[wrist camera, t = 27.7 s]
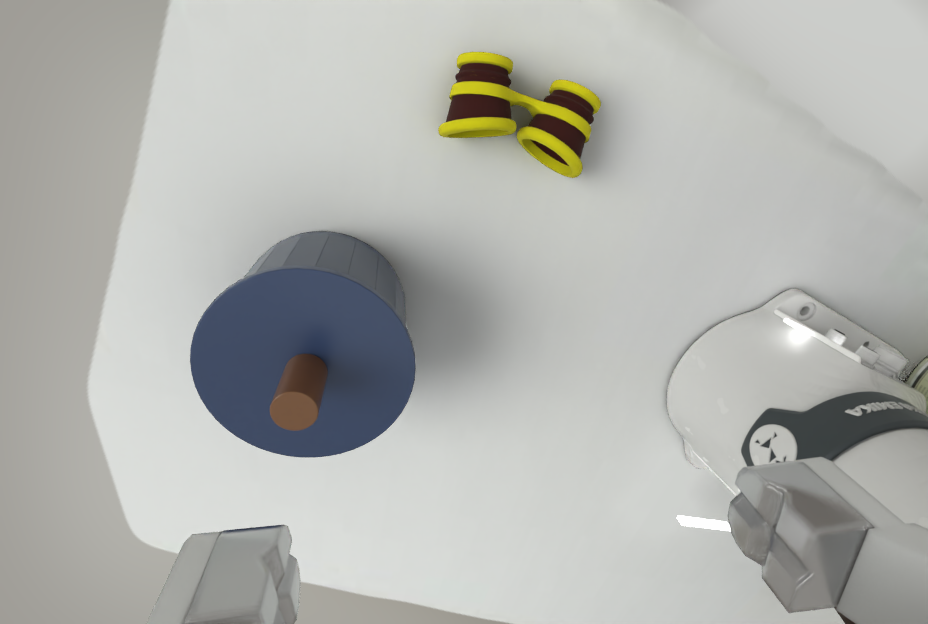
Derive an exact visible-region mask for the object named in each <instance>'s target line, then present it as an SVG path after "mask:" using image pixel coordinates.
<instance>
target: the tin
mask: <svg viewBox="0 0 928 624" xmlns="http://www.w3.org/2000/svg"><path fill="white" fill-rule="evenodd" d="M297 265H301V266H315V267H321V268H326V269H331V270H334V271H337V272H341V273H344V274H346V275H349V276H351V277H353V278H355V279H358V280H360V281H361V282H363V283H365V284H366V285H368V286H370V287H371V288H373V289H374V290H375V291H376V292H378V293H379V294H380V295H382V296H383V297H384V298H385V299H386V300H387V301H388V302H389V303H390V304H391V305H392V306H393V307H394V309H395V310H396V311H397V313H398V314H399V315H400V317H401V318H402V320H403V322H404V324H405V326H406V318H405V299H404V292H403V289H402V286H401V283H400V281H399V278H398V276H397V274H396V273H395V271H394V269H393V268H392V266H391V265H390V264H389V262H388V261H387V260H386V259H385V258H384V257H383V256H382V255H381V254H380V253H379V252H377V251H376V250H375V249H374V248H372V247H371V246H369V245H368V244H366V243H365V242H363V241H360V240H358V239H356V238H354V237H351V236H348V235H345V234H340V233H336V232H326V231H316V232H307V233H301V234H298V235H295V236H291V237H289V238H287V239H285V240H283V241H281V242H279V243H277V244H276V245H274V246H273V247H272V248H270V249H269V250H268V251H267V252H266V253H265V254H264V255H262V256H261V257H260V258H259V259H258V260H257V262H256V263H255V264H254V265H253V267H252V268H251V269H250V270H249V272H248V273H247V274H246V275H245V277H247V276H249V275H251V274H254V273H257V272H260V271H263V270H266V269H271V268H276V267H282V266H297ZM245 277H244V278H245Z"/></svg>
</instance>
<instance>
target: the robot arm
mask: <svg viewBox="0 0 928 624" xmlns="http://www.w3.org/2000/svg"><path fill="white" fill-rule="evenodd" d="M802 308H803V309H802ZM801 309H802V310H801ZM908 361H909V360H907V359H905V358H903V355H902V353H900V352H899V351H898V350H896V349H895V348H893V347H892V346H890V345H889V344H887V343H885V342H884V341H882V340H881V339H879V338H877V337H876V336H874V335H872V334H871V333H869V332H868V331H866V330H864V329H863V328H861V327H859V326H858V325H856V324H855V323H853V322H851V321H850V320H848V319H846V318H845V317H843V316H842V315H840V314H838V313H837V312H835V311H833V310H832V309H830V308H828V307H827V306H825V305H824V304H822V303H820V302H819V301H817V300H815V299H814V298H812V297H811V296H809V295H807V294H806V293H804V292H802V291H801V290H799V289H789V290H786V291H784V292H782V293H781V294H779V295H778V296H776V297H775V298H773V299H772V300H770V301H769V302H768V303H766V304H765V305H764V306H762V307H760V308H758V309H756V310H753V311H750V312H747V313H743V314H740V315H737V316H735V317H732V318H730V319H727V320H725V321H723V322H721V323H720V324H718V325H716V326H715V327H713V328H712V329H710V330H709V331H707V332H706V333H705V334H703V335H702V336H701V337H700V338H699V339H698V340H696V341H695V342H694V343H693V344H692V345H691V346H690V348H689V349H688V350H687V351H686V352H685V354H684V355H683V356H682V358H681V359H680V361H679V362H678V364H677V366H676V367H675V369H674V371H673V374H672V376H671V379H670V382H669V385H668V390H667V401H666V402H667V411H668V415H669V418H670V420H671V422H672V424H673V426H674V427H675V429H676V430H677V431H678V432H679V434H680V435H681V437H682V438H683V440H684V449H685V455H686V458H687V460H688V461H689V462H690V463H691V464H692V465H693V466H694V467H695V468H698V469H710V470H711V471H712V472H713V473H714V474H715V475H716V476H717V477H718V478H719V479H720V480H721V481H722V482H723V483H724V484H725V485H726V486H727V487H728V488H729V489H730V490H731V491H732V492H733V493H734V494H735V495H736V497H735V498H734V499H733V500H732V501H731V502H730V506H729V512H728V520H729V524H728V523H727V522H725V521H718V520H710V519H702V518H694V517H686V516H678V517H677V519H678V520H679V522H680V523H681V525H684V526H692V527H700V528H708V529H717V530H725V531H731V533H732V535H733V537H734V539H735V541H736V544H737V545H738V546H739V548H740V549H741V550H742V552H743V553H744V555H745V556H747V557H748V558H750V559H752V560H753V561H755V562H757V563H758V564H760V565H762V579H763V580H764V581H765V582H766V584H767V585H768V586H769V588H770V589H771V590H772V592H773V593H774V594H775V596H776V597H777V598H778V600H779V601H780V602H781V603H782V605H783V606H784V607H785V609H786V610H787V611H788V613H793V612H801V611H809V610H817V609H825V608H833V607H837V609H836V610H837V611H838V612H840V613H841V614H843V615H844V616H845V617H847V618H848V619H850V620H851V621H853V622H854V623H855V624H928V414H927V413H926V399H925V397H924V395H923V394H922V393H921V392H919V391H917V390H916V389H914V388H912V387H911V386H909V385H907V384H905V383H904V382H902V381H900V380H898V379H899V376H900V373H901V370H902V369H903V368H904V367H905V366H906V365H907V363H908ZM291 543H292V538H291V535H290V531H289V528H288V526H286V525H276V526H266V527H256V528H246V529H235V530H225V531H222V532H211V533H201V534H192V535H191V536H190V537H189V538H188V539H187V540H186V541H185V542H184V544H183V546H182V548H181V550H180V552H179V554H178V557H177V559H176V561H175V563H174V565H173V567H172V570H171V572H170V574H169V576H168V578H167V580H166V582H165V584H164V586H163V589H162V591H161V593H160V595H159V597H158V599H157V602H156V604H155V606H154V608H153V610H152V612H151V614H150V616H149V619H148V621H147V623H146V624H294V623H295V621H296V620H297V614H298V608H299V603H300V573H299V567H298V562H297V559H296V558H294V557H293V556H292V555H290V554H289V552H290V548H291Z"/></svg>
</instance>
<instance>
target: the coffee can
mask: <svg viewBox="0 0 928 624" xmlns="http://www.w3.org/2000/svg"><path fill="white" fill-rule="evenodd" d="M905 384H907V385H909V386H911V387H912V388H914V389H916V390H917V391H919V392H921V393H922V394H923V395H924V397H925V399H926V413H927V414H928V357H927V358H925V359H924V360H923V361H922V362H921V363H920V364H919V365H918V366H917V367H916V369H915V370H914V371H913V372H912V374H911V375H910V376H909V378H908V380H907V381H906V383H905Z"/></svg>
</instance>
